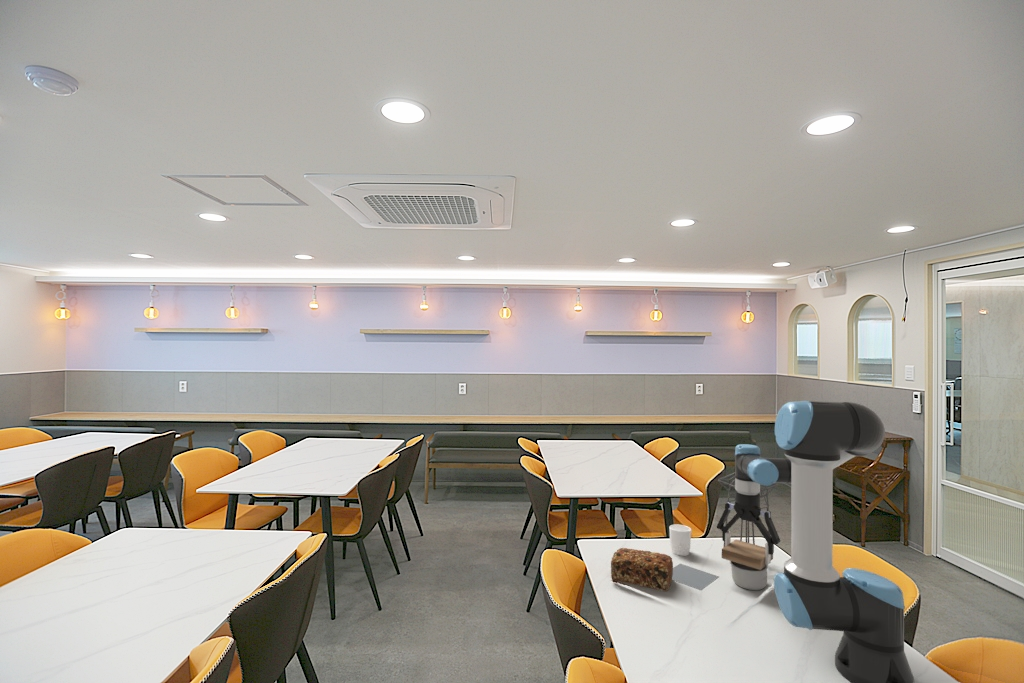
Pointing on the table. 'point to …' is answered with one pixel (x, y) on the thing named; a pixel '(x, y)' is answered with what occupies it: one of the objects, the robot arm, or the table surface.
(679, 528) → the white cup
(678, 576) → the mat
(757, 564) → the wooden block
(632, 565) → the bread
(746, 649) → the table surface
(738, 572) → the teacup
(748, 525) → the geometric lantern
